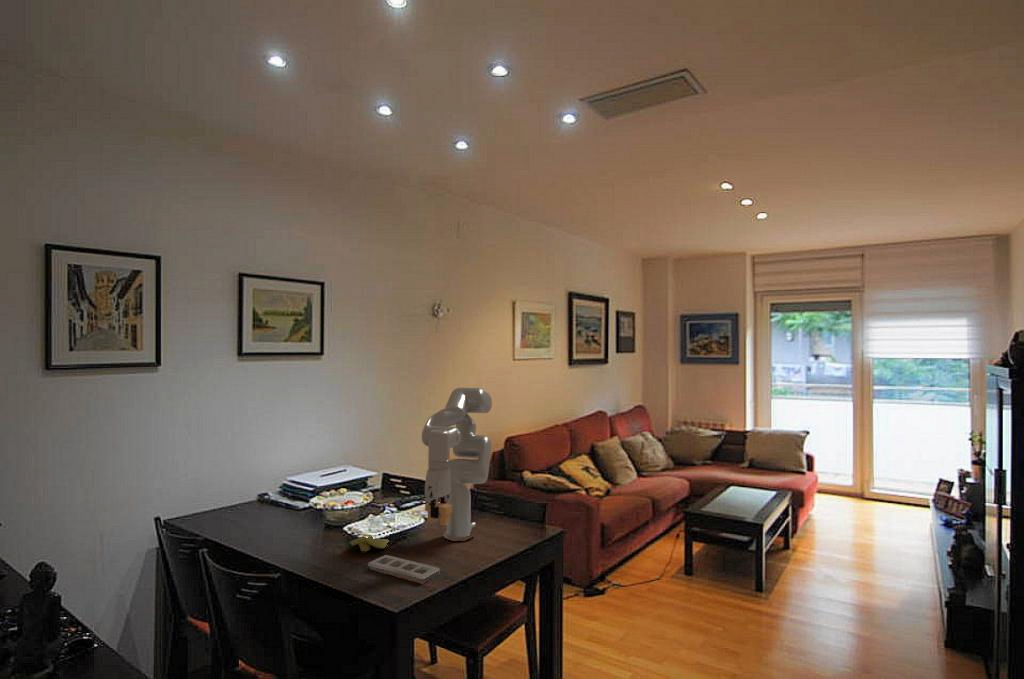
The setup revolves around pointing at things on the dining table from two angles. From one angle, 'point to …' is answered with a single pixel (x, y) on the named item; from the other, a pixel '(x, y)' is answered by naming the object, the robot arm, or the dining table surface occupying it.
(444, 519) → the tan rectangular block
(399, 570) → the grey slotted tray
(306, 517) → the dining table surface
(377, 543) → the banana bunch
